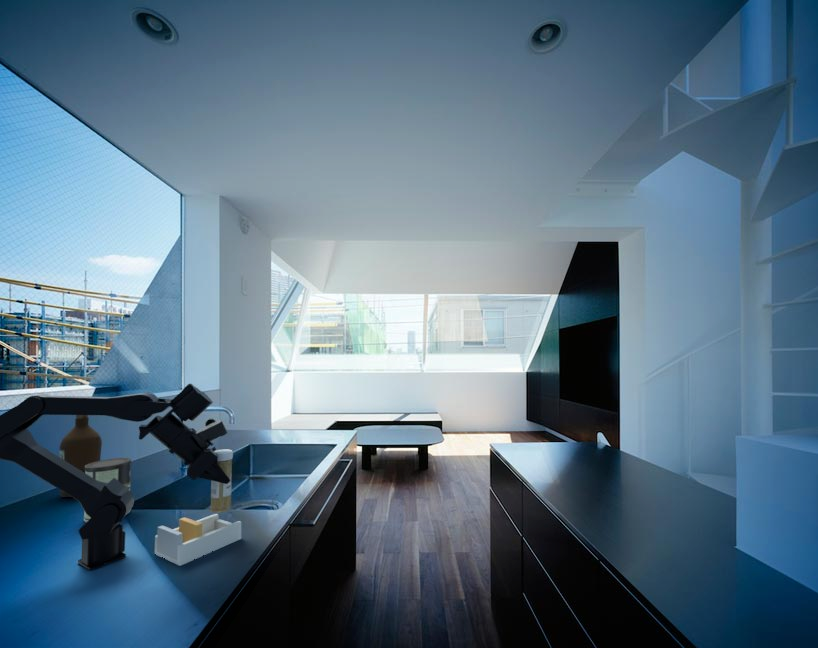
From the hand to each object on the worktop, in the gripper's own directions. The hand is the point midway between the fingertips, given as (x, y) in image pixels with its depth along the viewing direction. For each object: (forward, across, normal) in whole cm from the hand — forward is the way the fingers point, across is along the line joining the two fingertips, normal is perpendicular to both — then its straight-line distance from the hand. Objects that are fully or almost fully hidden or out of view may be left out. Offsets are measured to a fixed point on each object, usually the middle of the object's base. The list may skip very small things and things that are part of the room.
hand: (227, 479), depth 97 cm
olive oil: (-17, +61, +37) cm, 73 cm away
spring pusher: (+3, -3, +14) cm, 15 cm away
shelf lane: (+5, -2, +13) cm, 14 cm away
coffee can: (-9, +32, +29) cm, 44 cm away
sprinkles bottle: (+4, 0, +6) cm, 7 cm away
